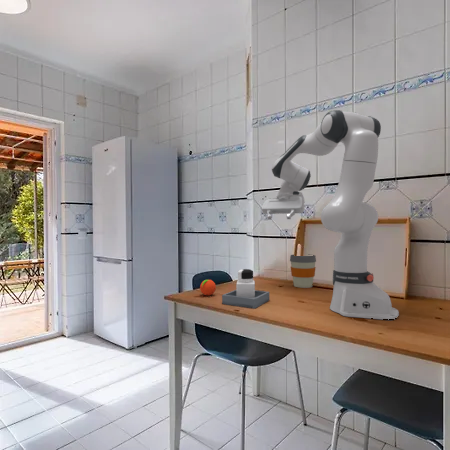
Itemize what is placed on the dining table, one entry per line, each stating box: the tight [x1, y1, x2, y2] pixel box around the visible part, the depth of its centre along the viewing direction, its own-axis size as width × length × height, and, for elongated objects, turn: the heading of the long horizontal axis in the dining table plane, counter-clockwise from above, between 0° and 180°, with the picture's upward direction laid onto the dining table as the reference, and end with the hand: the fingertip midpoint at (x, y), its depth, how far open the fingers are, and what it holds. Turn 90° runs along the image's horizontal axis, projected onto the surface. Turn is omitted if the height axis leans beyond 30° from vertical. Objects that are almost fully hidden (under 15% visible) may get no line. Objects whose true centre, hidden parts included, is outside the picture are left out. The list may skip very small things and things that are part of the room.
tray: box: [221, 289, 270, 310], centre depth 130 cm, size 14×14×4 cm
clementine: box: [199, 279, 217, 297], centre depth 142 cm, size 8×7×7 cm
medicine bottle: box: [235, 268, 256, 299], centre depth 130 cm, size 7×7×12 cm
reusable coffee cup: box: [289, 254, 317, 289], centre depth 161 cm, size 12×12×15 cm
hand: (278, 218), depth 149 cm, fingers open, 8 cm apart
